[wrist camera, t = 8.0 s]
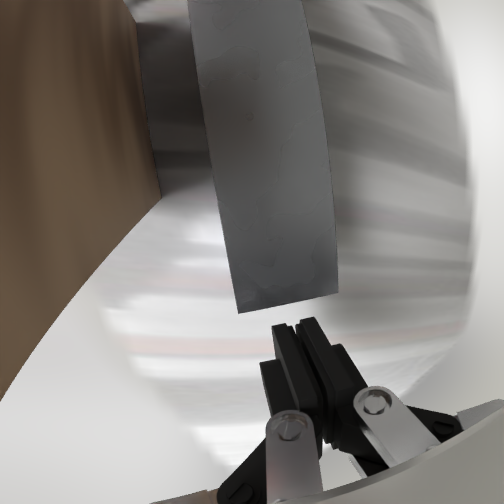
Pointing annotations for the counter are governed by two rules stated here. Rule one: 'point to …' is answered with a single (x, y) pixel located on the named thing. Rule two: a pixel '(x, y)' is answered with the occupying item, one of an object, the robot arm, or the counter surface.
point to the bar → (266, 149)
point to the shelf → (65, 157)
